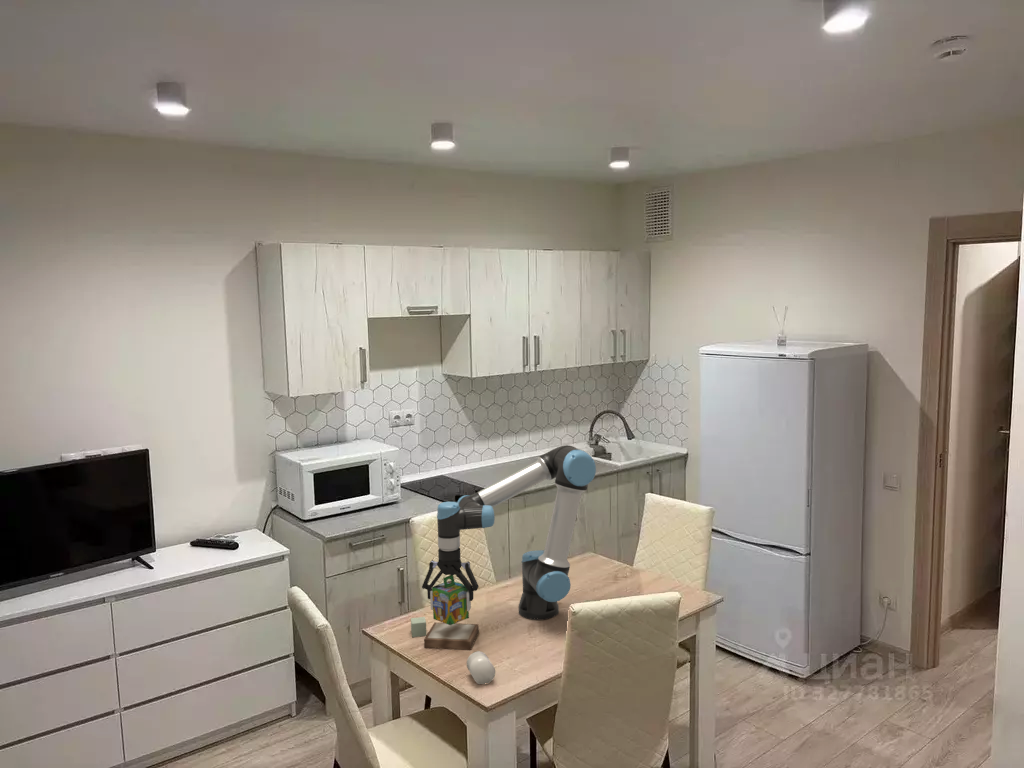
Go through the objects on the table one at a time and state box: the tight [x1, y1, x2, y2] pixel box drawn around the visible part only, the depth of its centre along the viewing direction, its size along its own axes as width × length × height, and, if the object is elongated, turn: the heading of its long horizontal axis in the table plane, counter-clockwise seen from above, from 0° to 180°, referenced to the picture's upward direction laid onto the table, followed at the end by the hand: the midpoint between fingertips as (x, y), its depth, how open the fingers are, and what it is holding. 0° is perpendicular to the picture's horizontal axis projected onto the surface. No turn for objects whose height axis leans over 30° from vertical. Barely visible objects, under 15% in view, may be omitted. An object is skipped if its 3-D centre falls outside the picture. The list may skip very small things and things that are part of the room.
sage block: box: [410, 616, 428, 638], centre depth 266 cm, size 5×5×5 cm
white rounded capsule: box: [466, 650, 496, 685], centre depth 232 cm, size 7×7×8 cm
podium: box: [423, 622, 480, 651], centre depth 260 cm, size 16×14×3 cm
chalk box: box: [432, 575, 470, 625], centre depth 259 cm, size 9×9×15 cm
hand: (450, 608), depth 259 cm, fingers closed on chalk box, 12 cm apart
